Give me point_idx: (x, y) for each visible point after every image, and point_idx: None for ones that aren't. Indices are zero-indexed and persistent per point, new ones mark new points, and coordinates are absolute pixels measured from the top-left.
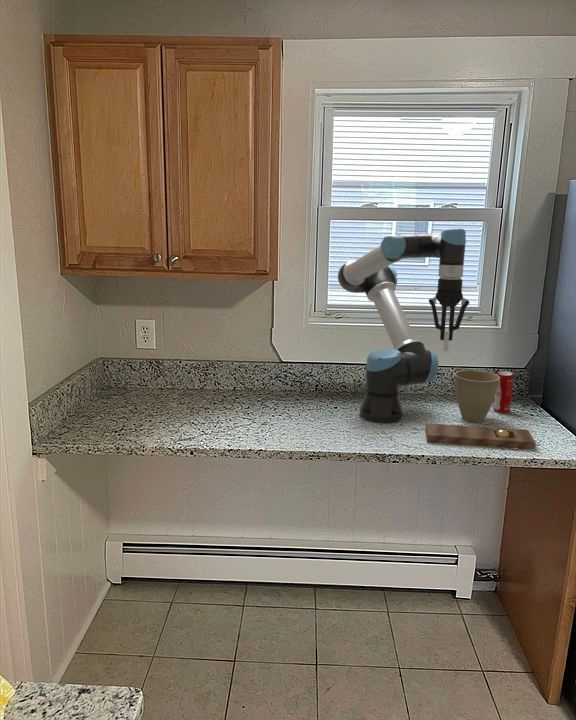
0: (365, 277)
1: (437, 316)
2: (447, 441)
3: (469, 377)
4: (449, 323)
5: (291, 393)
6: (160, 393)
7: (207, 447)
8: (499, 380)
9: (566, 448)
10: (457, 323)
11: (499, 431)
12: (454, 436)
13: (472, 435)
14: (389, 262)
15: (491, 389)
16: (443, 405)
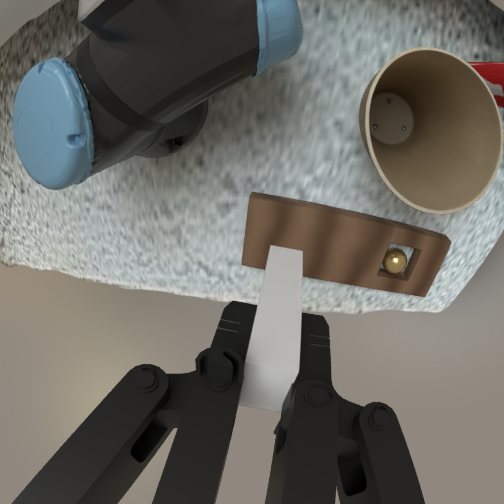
0: None
1: (120, 499)
2: None
3: (428, 58)
4: (276, 466)
5: (28, 36)
6: None
7: (20, 263)
8: (502, 93)
9: (466, 280)
10: (344, 483)
11: (389, 268)
12: None
13: (333, 268)
14: None
15: (449, 194)
16: (335, 12)
